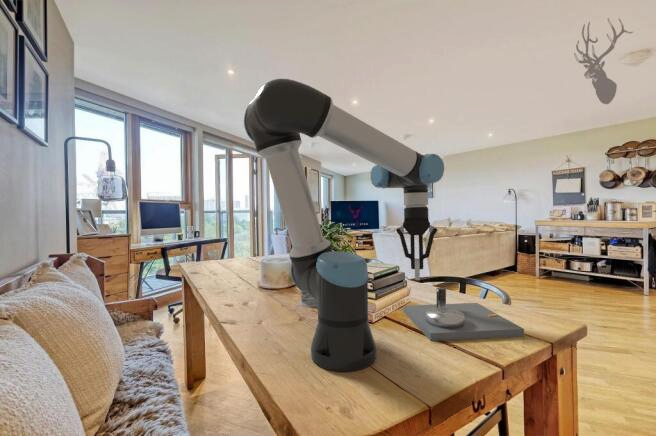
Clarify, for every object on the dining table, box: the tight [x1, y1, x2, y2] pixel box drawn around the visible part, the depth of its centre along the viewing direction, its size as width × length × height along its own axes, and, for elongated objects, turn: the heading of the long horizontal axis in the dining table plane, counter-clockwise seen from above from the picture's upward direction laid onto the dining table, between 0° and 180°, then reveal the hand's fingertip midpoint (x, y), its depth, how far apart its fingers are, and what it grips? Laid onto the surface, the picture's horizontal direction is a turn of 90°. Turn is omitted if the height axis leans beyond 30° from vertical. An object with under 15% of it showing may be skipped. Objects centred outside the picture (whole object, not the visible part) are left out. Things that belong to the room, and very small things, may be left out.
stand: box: [402, 302, 525, 342], centre depth 89 cm, size 25×22×2 cm
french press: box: [297, 290, 318, 308], centre depth 110 cm, size 10×12×25 cm
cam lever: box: [426, 287, 464, 329], centre depth 89 cm, size 18×10×6 cm, turn 164°
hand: (417, 279), depth 98 cm, fingers closed
